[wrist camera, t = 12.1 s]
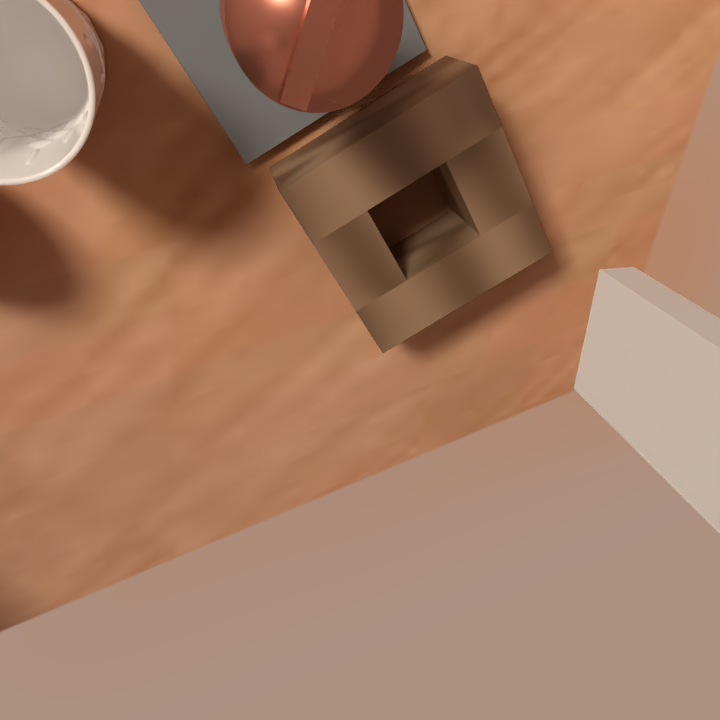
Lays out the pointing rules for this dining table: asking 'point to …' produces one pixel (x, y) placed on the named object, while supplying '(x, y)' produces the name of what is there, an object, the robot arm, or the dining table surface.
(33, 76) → the white cup
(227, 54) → the mat
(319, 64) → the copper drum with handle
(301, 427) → the dining table surface
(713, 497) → the robot arm
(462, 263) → the eye block
